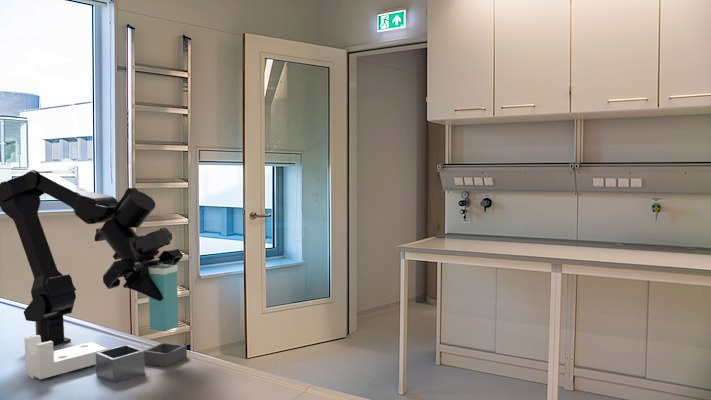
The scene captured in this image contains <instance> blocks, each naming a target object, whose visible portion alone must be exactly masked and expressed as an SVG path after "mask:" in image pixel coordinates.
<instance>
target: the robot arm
mask: <svg viewBox="0 0 711 400" xmlns="http://www.w3.org/2000/svg"><path fill="white" fill-rule="evenodd" d="M44 194H46V195H49V196H50V197H52V198H54V199H55V200H57V201H59V202H61V203H63V204H65V205H67V206H68V207H70V208H71V209H73V212H74V215H75V216H76V217H78V218H79V219H80V220H81V221H83V223H85V224H87V225H95V224H102V223H103V225H102V226H101V227H100V228H96V229H95V235H94V242H101V241H105V242H106V243H107V244H108V245H109V247H110V248H111V250H113V252H114V254H113V255H112V258H113V259H114V262H113V263H112V264H111V265H110V266H109V268H108V269H107V270H106V271H105V272H104V274H103V275H102V282H103V284H104V285H105V287H106V288H107V289H108V290H110V289H114V288H118V287H119V286H120V285H121V280H120V279H119V278H124V280H125V283H124V284H123V285H122V287H123V288H124V289H130V290H133V291H135V292H137V293H140V294H142V295H145V296H147V297H148V298H149V297H151V298H153V299H156V300H158V301H161V300H162V299H163V296H162V294H161V292H160V291H159V289H158V288H157V286H156V285H155V284H154V282H153V281H152V279H151V278H150V276H149V270H148V267H152V266H156V265H160V264H165V265H177V264H178V263H180V261H181V260H182V259H183V258H184V254H183V253H182V251H181V250H179V249H178V248H171V249H168V250H163V251H162V252H161V253H160V250H159V249H161V248H163V247H165V246H169V245H171V241H173V233H172V232H171V231H170V230H169V229H167V227H166V226H165V227H161V228H160V227H159V229H156V230H154V231H151V232H148V233H146V234H145V235H138V234H137V232H136V231H135V230H134V229H133V228H140V227H141V226H142V224H143V223H145V221H146V219H147V218H148V217H149V216H150V214H151V213H152V212H153V211H154V210H155V208H156V202H155V200H154V199H153V198H152V197H151V196H149V195H147V194H146V193H144V192H142V191H140V190H138V188H136V187H128V188H127V189H126V191H125V192H124V195H123V196H122V197H121V198H120V200H117V198H115V197H114V196H112V195H108V194H104V193H99V192H93V191H88V190H86V189H84V188H82V187H80V186H78V185H76V184H75V183H72V182H70V181H68V179H67V180H66V179H65V178H64V177H61V176H59V175H57V174H55V173H54V171H52V170H49V169H32V170H30V171H27V172H26V173H24V174H23V175H19V176H17V177H14V178H12V179H8V180H7V181H6V180H4V181H2V182H0V209H1V210H2V211H1V212H3V213H4V214H5V215H6V216H8V217H9V218H10V219H12V221H13V222H14V224H15V227H16V231H17V233H18V235H19V236H18V237H19V239H20V242H21V244H22V247H23V250H24V253H25V256H26V258H27V262H28V265H29V268H30V269H31V270H30V271H31V272H32V277H33V282H32V286H31V289H30V294H31V298H32V300H31V302H30V303H29V304H28V305H27V306H26V307H25V309H24V310H23V314H24V318H25V321H27V322H35V324H34V325H35V336H36V335H40V336H41V342H42V343H44V342H48V341H53V347H55V346H58V345H59V346H60V345H61V344H66V343H70V342H71V341H72V339H71V338H68V337H66V336H65V326H64V325H65V324H64V316H65V315H69V314H72V313H73V308H74V305H75V300H76V299H77V295H76V291H77V288H76V287H75V285H74V283H73V279H72V278H73V277H72V276H71V275H70V274H69V273H68V274H62V272H60V271H59V270H58V268H57V264H56V262H55V259H54V256H53V254H52V250H51V247H50V245H49V243H48V240H47V236H46V235H45V234H46V233H45V231H44V228H43V226H42V222H41V220H40V217H39V214H38V213H39V209H40V206H41V204H42V203H41V196H42V195H44ZM159 253H160V255H159V256H158V257H157V258H155V256H157V255H158V254H159Z"/></svg>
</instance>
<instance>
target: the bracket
mask: <svg viewBox="0 0 711 400" xmlns="http://www.w3.org/2000/svg"><path fill="white" fill-rule="evenodd" d="M107 349H108V348H107V347H104V346H102V345H99V344H98V343H95V342H93V341H90V342H86V343H85V342H84V343H81V344H77V345H74V346H73V345H72V346H68V347H64V348H62V349H57V350H54V346H53V341H48V342H44V343H42V342H41V336H40V335H36V334H35V335H32V336H27V337H24V355H25V357H24V358H25V359H24V360H25V374H26V375H27V376H29V377H30V378H31V379H35V378H37V379H38V380H43V379H47V378H50V377H54V376H57V375H61V374H65V373H69V372H72V371H76V370H80V369H84V368H88V367H91V366H96V352H100V351H104V350H107Z"/></svg>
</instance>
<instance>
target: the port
mask: <svg viewBox="0 0 711 400" xmlns="http://www.w3.org/2000/svg"><path fill="white" fill-rule="evenodd" d="M144 350H145V349H144ZM144 350H143V349H141V348H138V347H135V346H132V345H129V344H122V345H120V346H115V347H112V348H109V349H108V348H107V350H104V351H100V352H96V364H95V373H96V375H95V376H97V377H99V378H102V379H104V380H106V381H107V382H110V383H112V384H114V383H118V382H121V381H125V380H127V379H130V378H135V377H136V376H139V375H143V374H145V373H146V369H145V368H146V363H145V362H144Z"/></svg>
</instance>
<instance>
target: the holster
mask: <svg viewBox="0 0 711 400" xmlns="http://www.w3.org/2000/svg"><path fill="white" fill-rule="evenodd" d="M187 347H188V346H187V345H186V344H178V343H172V342H164V341H163V342H160V343H158V344H156V345H154V346H151V347H149V348H147V349H144V362H145V365H146V364H147V365H154V366H160V367H165V368H167V367H169V366H171V365H173V364H175V363H177V362H179V361H181V360H183V359H185V358H187V357H188V355H187V354H188V353H187Z"/></svg>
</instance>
